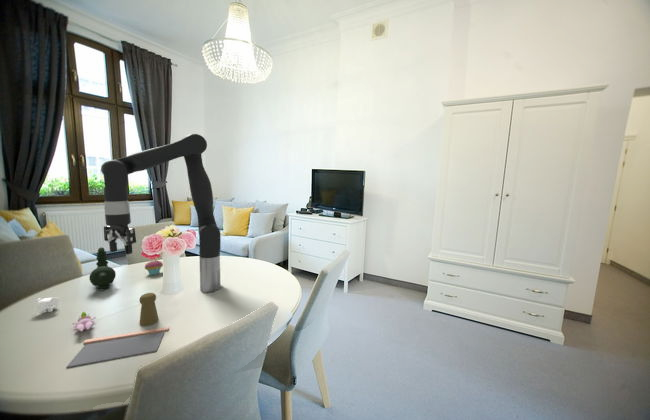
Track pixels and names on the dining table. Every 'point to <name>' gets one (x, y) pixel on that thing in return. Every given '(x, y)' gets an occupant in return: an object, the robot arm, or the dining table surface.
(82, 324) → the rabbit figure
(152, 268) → the cupcake
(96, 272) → the dark green rounded piece
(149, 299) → the cork
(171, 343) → the dining table surface
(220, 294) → the dining table surface
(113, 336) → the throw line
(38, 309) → the elephant figurine
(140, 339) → the mat
